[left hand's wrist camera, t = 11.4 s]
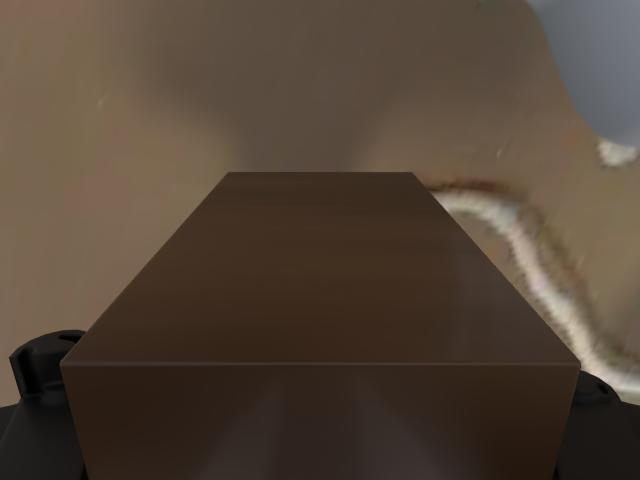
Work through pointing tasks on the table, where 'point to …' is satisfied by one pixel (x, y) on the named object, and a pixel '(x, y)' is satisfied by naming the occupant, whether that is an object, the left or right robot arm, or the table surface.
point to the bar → (320, 346)
